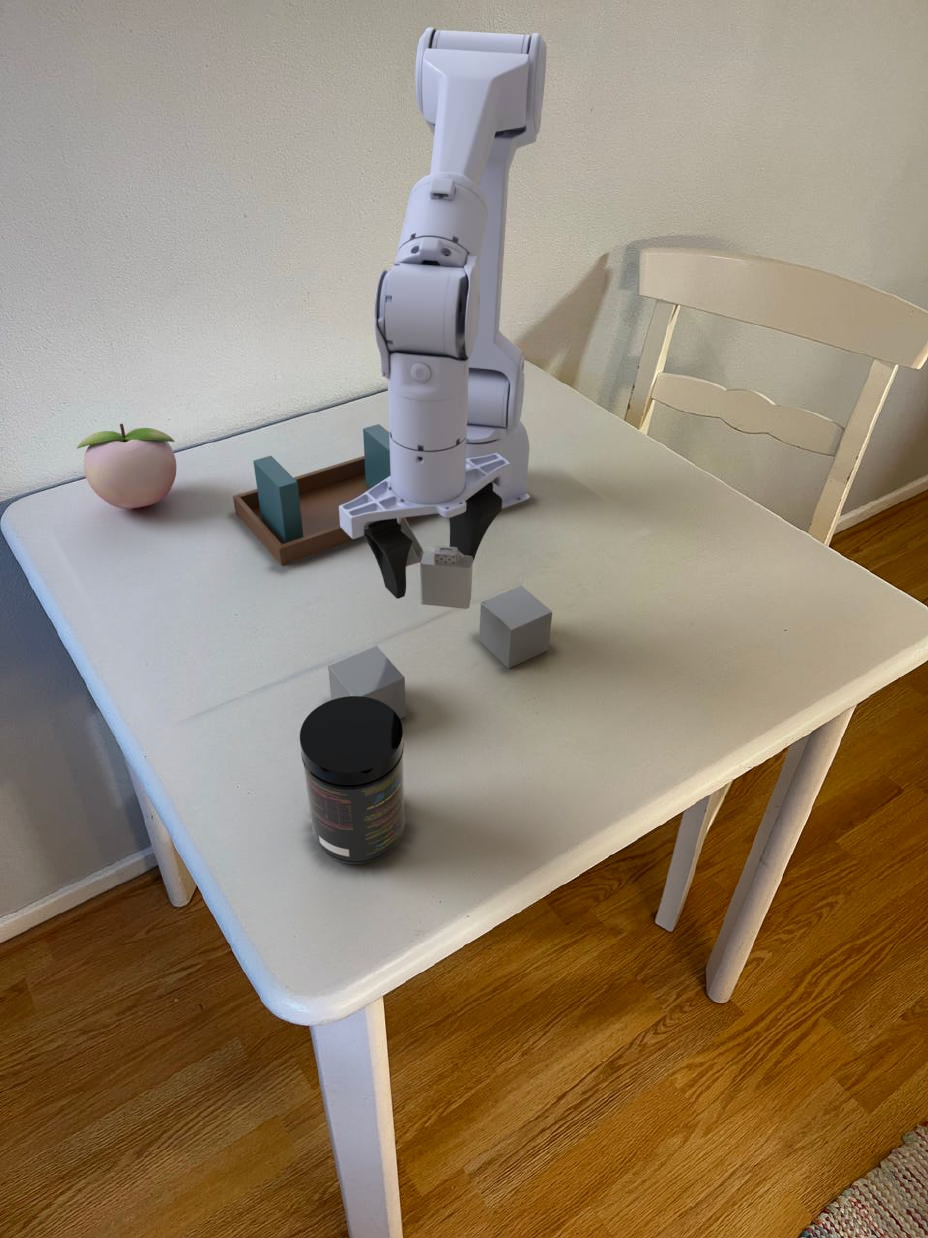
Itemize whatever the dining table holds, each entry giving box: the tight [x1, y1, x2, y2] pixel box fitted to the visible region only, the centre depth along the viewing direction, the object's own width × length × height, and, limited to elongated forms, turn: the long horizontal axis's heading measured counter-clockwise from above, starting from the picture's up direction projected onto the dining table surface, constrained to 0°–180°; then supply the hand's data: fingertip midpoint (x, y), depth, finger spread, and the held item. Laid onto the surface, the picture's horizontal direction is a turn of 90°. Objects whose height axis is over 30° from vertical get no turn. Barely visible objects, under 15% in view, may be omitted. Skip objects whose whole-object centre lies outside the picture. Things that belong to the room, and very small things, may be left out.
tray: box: [232, 455, 425, 567], centre depth 95 cm, size 18×11×2 cm, turn 124°
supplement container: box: [299, 696, 406, 865], centre depth 62 cm, size 7×7×10 cm
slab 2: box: [362, 423, 391, 489], centre depth 96 cm, size 2×6×7 cm, turn 34°
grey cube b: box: [327, 645, 407, 720], centre depth 73 cm, size 4×4×4 cm
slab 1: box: [253, 455, 303, 544], centre depth 91 cm, size 2×6×7 cm, turn 34°
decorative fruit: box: [76, 423, 177, 510], centre depth 93 cm, size 9×8×10 cm
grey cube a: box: [478, 585, 553, 669], centre depth 80 cm, size 4×4×4 cm
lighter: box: [397, 517, 474, 610], centre depth 74 cm, size 7×2×8 cm, turn 83°
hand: (428, 578), depth 75 cm, fingers closed on lighter, 6 cm apart
